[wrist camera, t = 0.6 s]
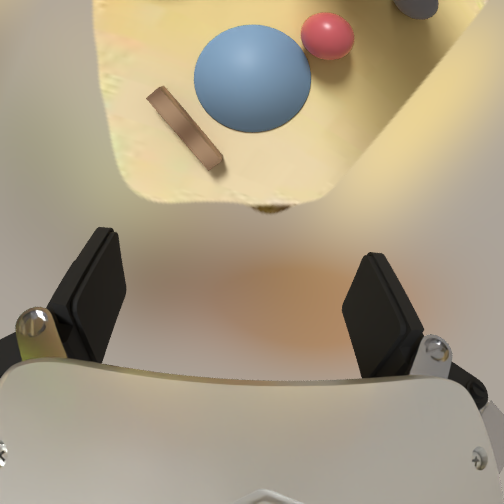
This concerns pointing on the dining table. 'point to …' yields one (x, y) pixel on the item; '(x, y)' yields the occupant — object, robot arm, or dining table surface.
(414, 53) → the dining table surface
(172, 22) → the dining table surface
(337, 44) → the object ball
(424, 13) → the grey ball
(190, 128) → the wall
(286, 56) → the blue flat disc
